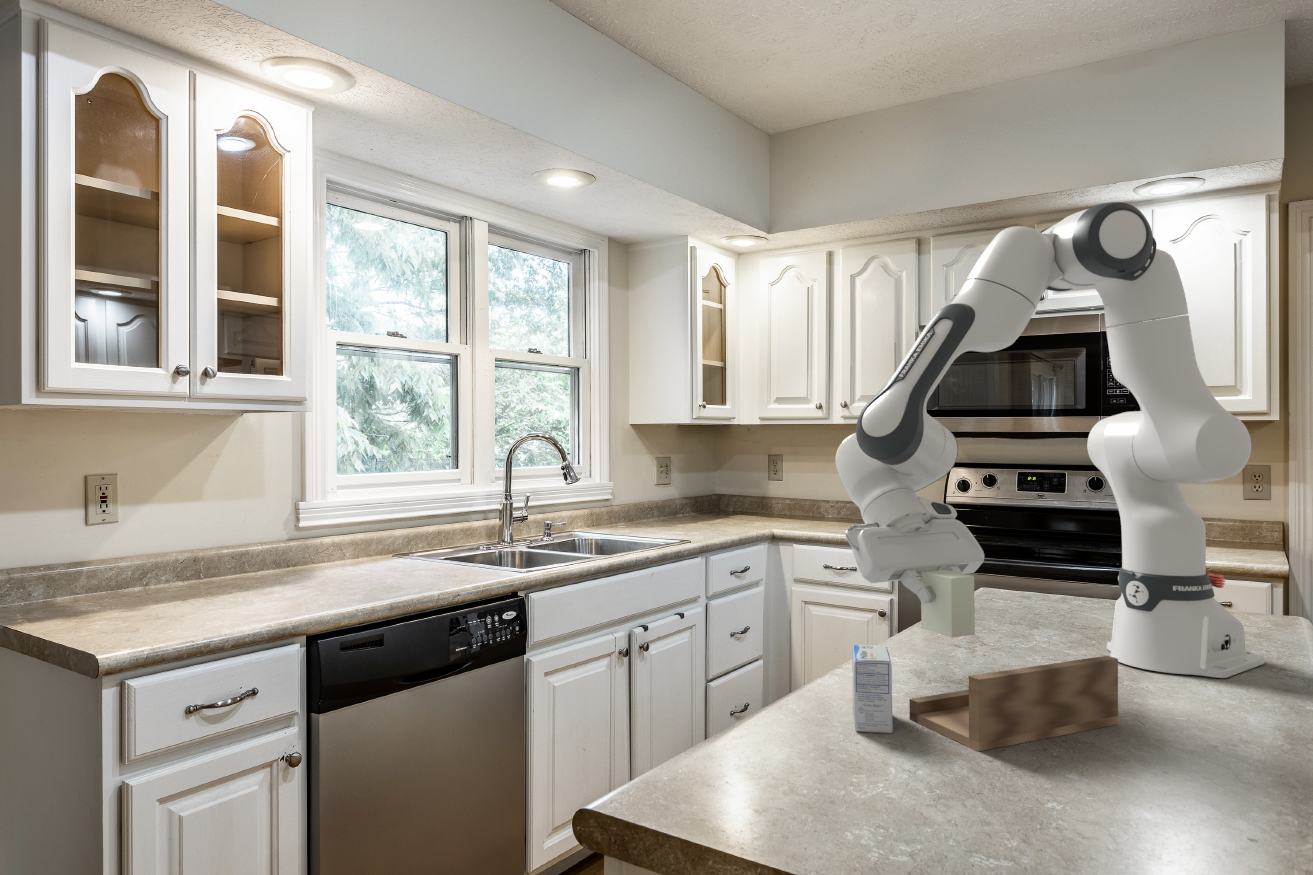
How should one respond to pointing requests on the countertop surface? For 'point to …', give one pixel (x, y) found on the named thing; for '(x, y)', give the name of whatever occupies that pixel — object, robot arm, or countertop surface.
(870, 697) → the medicine box
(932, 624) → the sage cabinet block
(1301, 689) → the countertop surface
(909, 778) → the countertop surface
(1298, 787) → the countertop surface
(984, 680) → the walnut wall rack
